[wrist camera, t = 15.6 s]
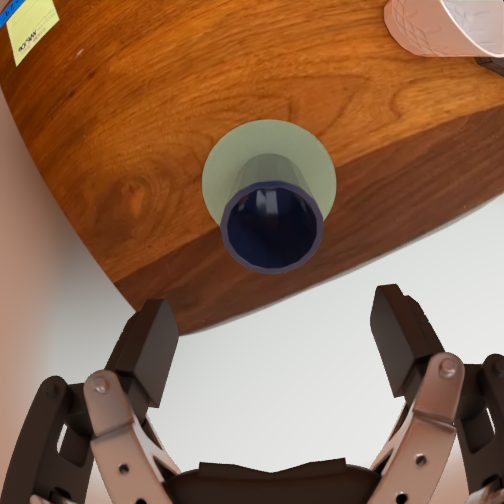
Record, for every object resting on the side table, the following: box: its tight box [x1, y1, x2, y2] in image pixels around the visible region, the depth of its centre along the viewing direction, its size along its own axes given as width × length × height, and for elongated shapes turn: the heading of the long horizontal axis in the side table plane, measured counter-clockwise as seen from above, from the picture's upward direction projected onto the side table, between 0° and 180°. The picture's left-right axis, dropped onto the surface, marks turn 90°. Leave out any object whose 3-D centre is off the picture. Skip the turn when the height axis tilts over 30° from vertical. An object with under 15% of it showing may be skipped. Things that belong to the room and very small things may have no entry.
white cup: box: [384, 0, 504, 58], centre depth 11 cm, size 8×8×10 cm
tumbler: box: [220, 153, 323, 274], centre depth 20 cm, size 6×6×9 cm
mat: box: [202, 119, 336, 226], centre depth 24 cm, size 12×12×1 cm
